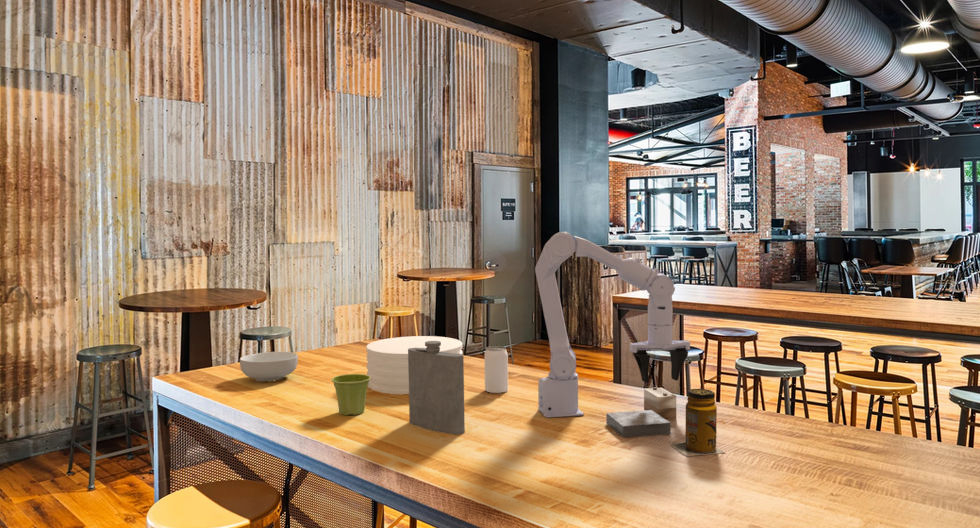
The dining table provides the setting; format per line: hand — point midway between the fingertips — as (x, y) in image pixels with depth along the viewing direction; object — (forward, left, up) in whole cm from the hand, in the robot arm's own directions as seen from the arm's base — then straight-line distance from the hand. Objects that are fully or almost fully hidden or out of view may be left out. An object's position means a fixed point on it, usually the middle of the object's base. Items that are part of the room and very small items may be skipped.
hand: (660, 380), depth 158 cm
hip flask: (-54, +2, -9) cm, 55 cm away
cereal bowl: (-99, +61, -9) cm, 116 cm away
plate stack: (-55, +47, -9) cm, 73 cm away
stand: (-10, -9, -8) cm, 16 cm away
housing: (0, 0, -8) cm, 8 cm away
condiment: (-3, -24, -9) cm, 26 cm away
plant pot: (-73, +19, -9) cm, 76 cm away
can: (-34, +31, -8) cm, 47 cm away
